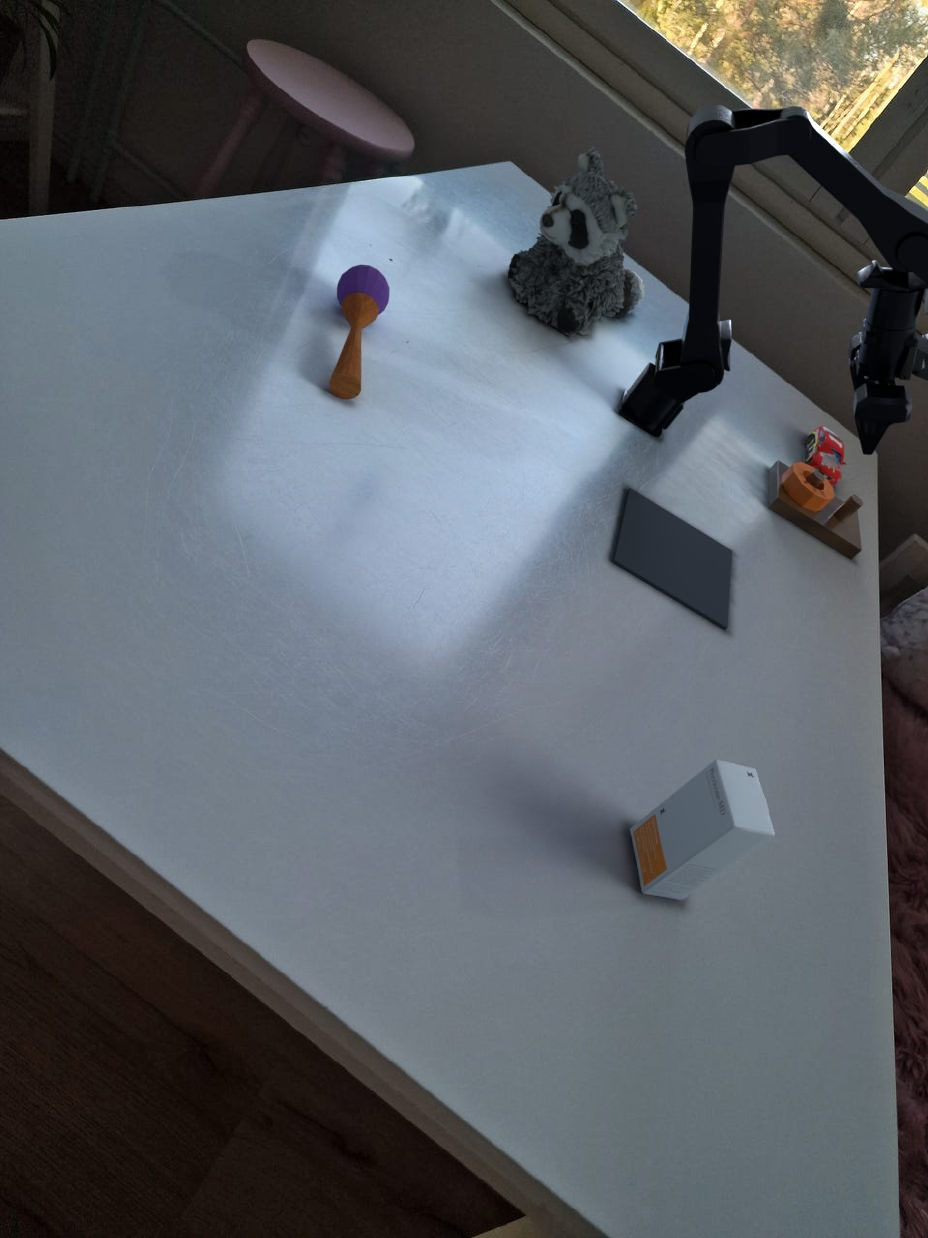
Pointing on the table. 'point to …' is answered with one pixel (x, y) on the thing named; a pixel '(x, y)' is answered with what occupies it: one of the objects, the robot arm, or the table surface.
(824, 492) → the disc
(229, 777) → the table surface
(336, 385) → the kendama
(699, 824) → the cosmetic box
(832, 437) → the race car
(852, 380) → the robot arm
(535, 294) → the raccoon plush
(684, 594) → the mat
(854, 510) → the rack
